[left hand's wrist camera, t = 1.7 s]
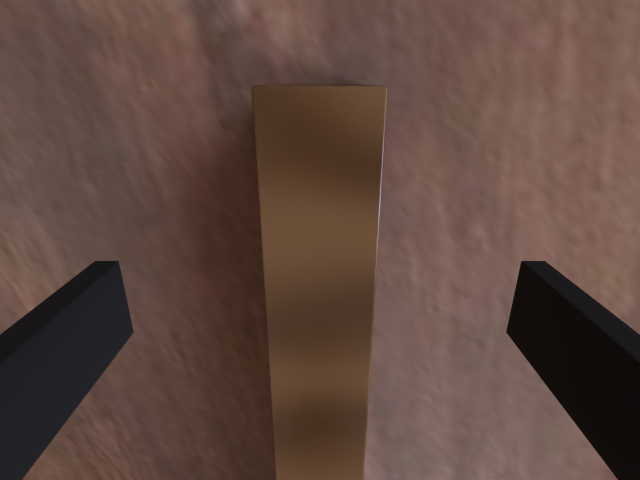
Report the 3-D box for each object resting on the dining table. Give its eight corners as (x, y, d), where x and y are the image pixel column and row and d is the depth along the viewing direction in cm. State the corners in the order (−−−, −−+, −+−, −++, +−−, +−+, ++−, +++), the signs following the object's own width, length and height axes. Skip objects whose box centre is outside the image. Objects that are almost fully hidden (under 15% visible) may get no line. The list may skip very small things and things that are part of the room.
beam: (274, 84, 21) (251, 85, 14) (364, 84, 22) (388, 86, 14) (296, 606, 41) (290, 721, 34) (343, 606, 41) (348, 721, 34)
